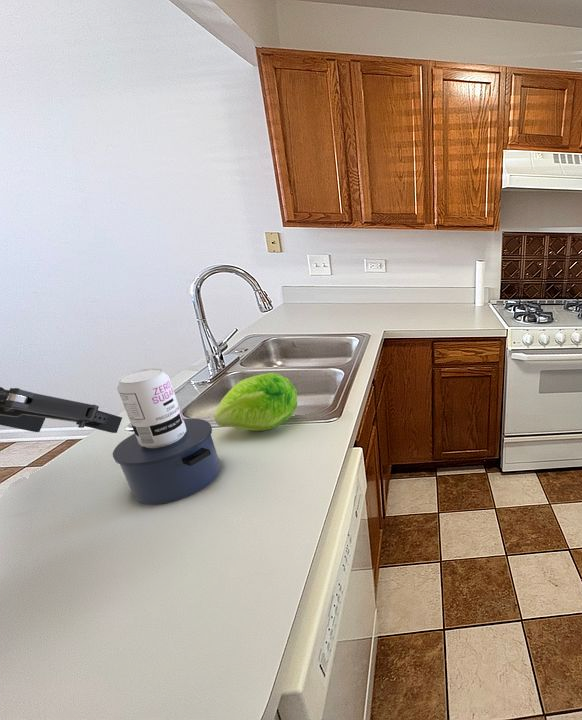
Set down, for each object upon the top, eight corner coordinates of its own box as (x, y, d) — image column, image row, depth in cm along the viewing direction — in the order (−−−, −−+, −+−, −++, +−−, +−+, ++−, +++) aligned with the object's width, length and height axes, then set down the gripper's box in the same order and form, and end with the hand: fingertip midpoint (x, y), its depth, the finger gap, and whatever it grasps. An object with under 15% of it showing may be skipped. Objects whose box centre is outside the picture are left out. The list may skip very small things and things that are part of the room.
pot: (107, 493, 85) (88, 451, 81) (185, 449, 100) (173, 412, 96) (171, 517, 78) (153, 473, 74) (245, 466, 93) (234, 427, 89)
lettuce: (226, 431, 111) (205, 382, 106) (300, 406, 121) (284, 360, 116) (226, 455, 98) (202, 401, 93) (310, 424, 107) (292, 373, 102)
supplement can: (147, 433, 87) (123, 371, 81) (191, 425, 90) (171, 364, 84) (134, 453, 80) (107, 387, 74) (182, 444, 83) (160, 379, 77)
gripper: (-204, 413, 48) (-2, 445, 67) (-2, 415, 47) (142, 447, 67) (-164, 356, 50) (18, 403, 70) (26, 357, 50) (156, 404, 69)
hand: (79, 424), depth 68 cm, fingers open, 13 cm apart
